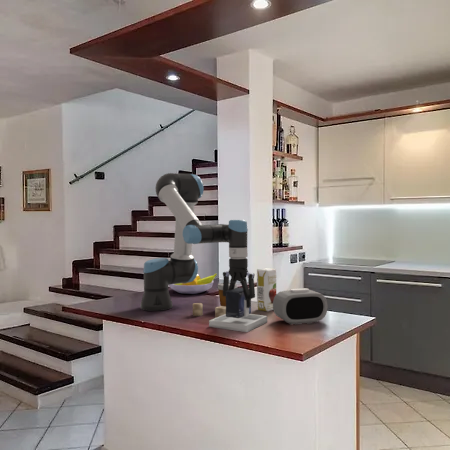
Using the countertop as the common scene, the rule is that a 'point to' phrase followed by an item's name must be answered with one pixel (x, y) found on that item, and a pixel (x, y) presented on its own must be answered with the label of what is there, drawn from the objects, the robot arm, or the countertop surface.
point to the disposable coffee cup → (221, 297)
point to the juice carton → (266, 288)
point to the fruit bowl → (194, 285)
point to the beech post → (197, 309)
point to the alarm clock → (300, 306)
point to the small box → (235, 303)
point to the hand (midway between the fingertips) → (238, 314)
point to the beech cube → (220, 311)
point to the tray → (238, 322)
